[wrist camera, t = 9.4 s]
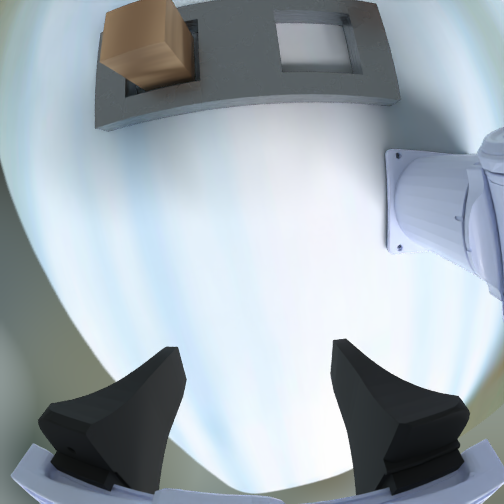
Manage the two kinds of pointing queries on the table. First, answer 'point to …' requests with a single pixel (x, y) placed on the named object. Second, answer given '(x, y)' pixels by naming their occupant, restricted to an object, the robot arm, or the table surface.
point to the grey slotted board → (257, 63)
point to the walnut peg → (148, 44)
